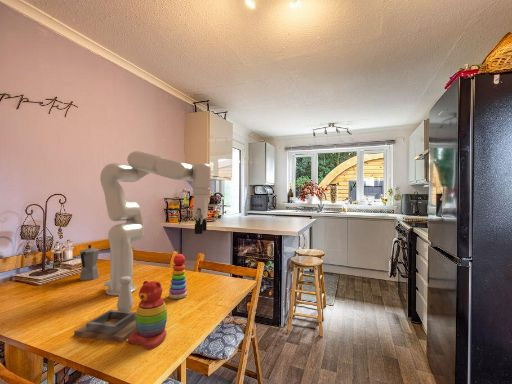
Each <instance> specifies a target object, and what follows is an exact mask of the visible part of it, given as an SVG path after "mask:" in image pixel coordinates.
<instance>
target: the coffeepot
mask: <svg viewBox="0 0 512 384" xmlns="http://www.w3.org/2000/svg"><path fill="white" fill-rule="evenodd" d="M99 253H100V249H99V248H93V247H92V245H91V244H88V245H87V248H85V249H81V250H79V254H80V255H79V256H80V260H81V264H82V265H81V270H80V275H79V280H80V281H83V282H85V281H86V282H88V281H93V280H96V279H98V278H99V271H98V266H97V264H98V263H97V262H98V260H99V258H98V257H99Z"/></svg>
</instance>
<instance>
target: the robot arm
mask: <svg viewBox="0 0 512 384" xmlns="http://www.w3.org/2000/svg"><path fill="white" fill-rule="evenodd" d="M126 160H127V164H125V163H117V162H116V163H115V162H114V163H109V164H107V165H105V166H104V167H103V168H102V170H101V172H100V174H99V175H100V177H99V179H100V180H99V181H100V184H101V187H102V190H103V191H102V192H103V194H104V199H105V205H106V210H107V211H106V212H107V215H108V218H109V220H111V221H113V222H122V223H117V224H115V225H113V226H112V227H110V228H109V230H108V234H107V236H108V237H107V238H108V242H109V243H108V244H109V249H110V255H109V257H110V259H109V261H110V263H109V264H110V266H109V267H110V268H109V269H110V271H109V280H106V281H104V284H103V286H104V287H107V289H106V291H105V293H106V295H108V296H119V293H120V289H121V284H120V283H119V280H120V278H122V277H125V276H129V277H131V279H132V281H131V283H130V287H131V292H132V293H134V292H135V291H136V290H137V286H136V285H135V284H133V283H134V281H133V279H134V274H133V273H134V266H133V265H134V252H133V247H132V245H131V243H133V242H137V241H139V240H141V239H143V237H144V235H145V231H146V230H145V225H144V219H143V218H144V217H143V213H142V208H141V206H140V205H139V204H138V203H137V202H136V201H133V200H127V199H126V193H125V190H124V189H123V186H122V185H121V183H120V182H122V183H136V182H138V181H140V180H141V179H143V178H145V177H146V176H147V175H149V174H153V175H156V176H160V177H163V178H168V179H172V180H174V181H175V180H176V181H182V182H183V181H184V182H192V195H191V196H192V197H193V204H192V219H193V220H194V234H195V235H203V232H206V231H207V230H208V229H207V218H208V211H209V208H208V205H209V204H208V203H209V199H208V197H210V196H211V177H212V175H211V172H212V171H211V169H212V168H211V165H210V164H208V163H195V164H189V163H186V162H180V161H176V160H172V159H167V158H165V157H163V156H160V155H156V154H153V153H148V152H145V151H139V150H136V151H132V152H130V153H129V154H128V155H127V159H126ZM123 221H125V223H124V222H123Z"/></svg>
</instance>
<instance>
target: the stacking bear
mask: <svg viewBox="0 0 512 384" xmlns="http://www.w3.org/2000/svg"><path fill="white" fill-rule="evenodd" d="M142 284H143V285H142V286H141V287H140V289H139V291H138V298H139V299H140V301H139V303H138V305H137V309H136V319H135V320H136V327H137V331H136V332H134V333H133V334H131V335H130V336H129V338H128V339H127V343H128V344H131V345H138V344H139V345H141V346H143V348H144V349H147V350H150V349H155V348H156V347H158V346H160V344H162V343H163V342H164V341H165V339H166V337H167V330H166V326H167V321H168V312H167V311H168V310H167V306H166V302H165V301H164V299H163V298H162V295H163V286H162V284H161V282H159V281H155V280H152V281H151V280H150V281H148V280H144V281H143V282H142Z"/></svg>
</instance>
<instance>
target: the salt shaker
mask: <svg viewBox="0 0 512 384" xmlns="http://www.w3.org/2000/svg"><path fill="white" fill-rule="evenodd" d="M131 281H132V279H131V277H129V276H125V277H122V278H120V280H119V283H120V284H121V289H120V293H119V295H118V298H117V303H116V307H117V311H127V312H131V311H132V308H133V306H134V300H133V292H131V287H130V283H131Z"/></svg>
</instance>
